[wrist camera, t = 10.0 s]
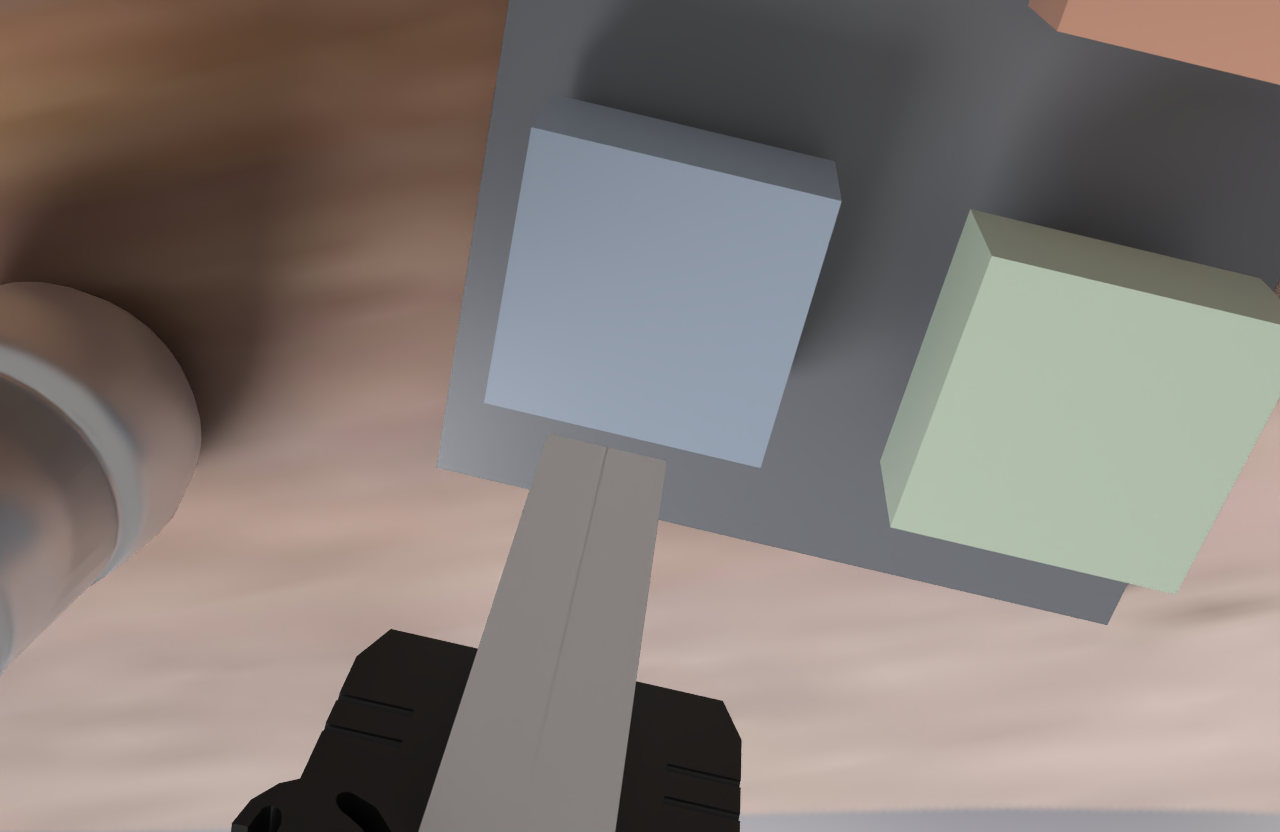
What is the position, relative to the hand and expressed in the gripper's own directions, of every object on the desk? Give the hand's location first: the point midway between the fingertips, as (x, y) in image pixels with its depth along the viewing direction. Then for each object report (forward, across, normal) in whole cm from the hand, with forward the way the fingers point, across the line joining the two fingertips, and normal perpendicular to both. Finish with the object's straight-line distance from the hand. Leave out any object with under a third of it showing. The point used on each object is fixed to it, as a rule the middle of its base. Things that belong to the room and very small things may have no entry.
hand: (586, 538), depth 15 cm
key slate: (+10, 0, 0) cm, 10 cm away
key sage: (+9, +8, 0) cm, 12 cm away
